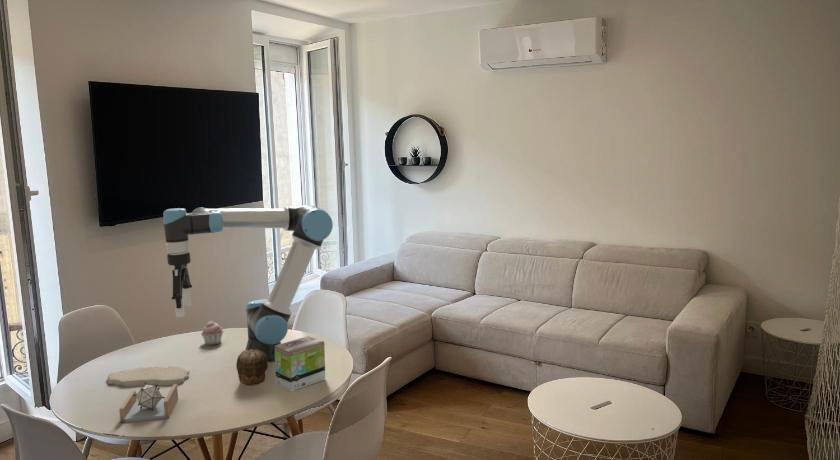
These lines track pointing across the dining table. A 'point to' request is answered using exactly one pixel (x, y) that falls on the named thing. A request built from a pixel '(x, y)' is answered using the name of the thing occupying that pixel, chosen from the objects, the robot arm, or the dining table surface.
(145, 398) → the game die
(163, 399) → the track
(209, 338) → the cupcake
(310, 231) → the robot arm
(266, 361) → the woven dome ornament
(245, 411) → the dining table surface
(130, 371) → the stone tablet
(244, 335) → the dining table surface
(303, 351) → the tea box
